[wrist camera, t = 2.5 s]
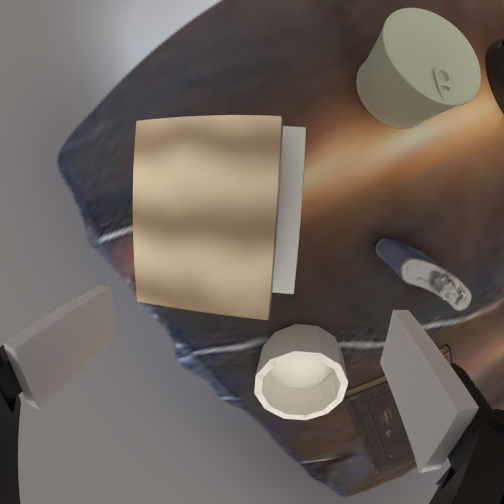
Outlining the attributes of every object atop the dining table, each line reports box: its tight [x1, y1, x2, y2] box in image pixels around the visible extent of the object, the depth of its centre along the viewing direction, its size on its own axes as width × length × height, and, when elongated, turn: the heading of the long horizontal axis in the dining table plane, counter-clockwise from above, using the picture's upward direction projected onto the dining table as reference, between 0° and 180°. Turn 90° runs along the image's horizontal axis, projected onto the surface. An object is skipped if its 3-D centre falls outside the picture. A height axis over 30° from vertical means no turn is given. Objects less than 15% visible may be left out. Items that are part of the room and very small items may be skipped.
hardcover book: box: [343, 344, 452, 474], centre depth 34 cm, size 16×23×2 cm
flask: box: [375, 238, 472, 311], centre depth 25 cm, size 9×3×11 cm, turn 66°
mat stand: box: [272, 126, 306, 294], centre depth 28 cm, size 18×16×7 cm
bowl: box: [254, 324, 348, 420], centre depth 32 cm, size 10×10×6 cm
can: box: [356, 8, 481, 129], centre depth 20 cm, size 9×9×12 cm
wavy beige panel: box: [133, 115, 283, 320], centre depth 24 cm, size 16×12×2 cm
